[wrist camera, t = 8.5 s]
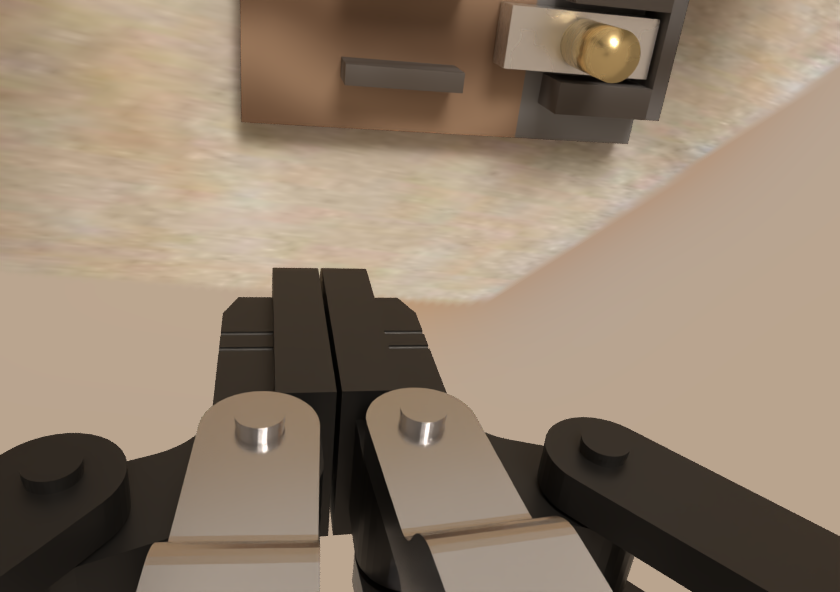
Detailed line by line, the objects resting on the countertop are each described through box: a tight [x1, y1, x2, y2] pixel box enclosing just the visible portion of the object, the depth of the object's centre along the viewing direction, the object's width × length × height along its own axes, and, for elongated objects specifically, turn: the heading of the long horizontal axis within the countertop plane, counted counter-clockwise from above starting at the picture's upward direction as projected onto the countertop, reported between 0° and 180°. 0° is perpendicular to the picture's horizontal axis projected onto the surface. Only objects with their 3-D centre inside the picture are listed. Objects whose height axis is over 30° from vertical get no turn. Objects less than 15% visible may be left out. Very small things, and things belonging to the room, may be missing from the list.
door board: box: [240, 0, 689, 144], centre depth 36 cm, size 11×22×4 cm, turn 84°
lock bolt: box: [493, 1, 660, 83], centre depth 35 cm, size 3×8×6 cm, turn 84°
